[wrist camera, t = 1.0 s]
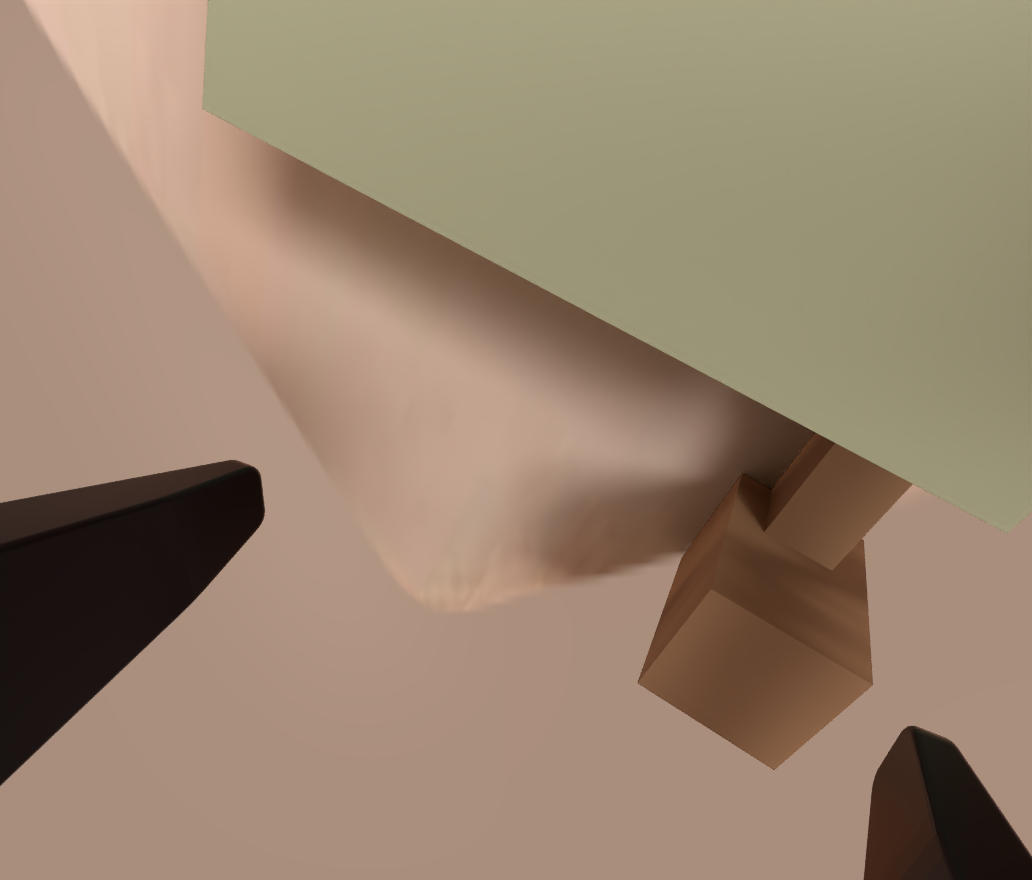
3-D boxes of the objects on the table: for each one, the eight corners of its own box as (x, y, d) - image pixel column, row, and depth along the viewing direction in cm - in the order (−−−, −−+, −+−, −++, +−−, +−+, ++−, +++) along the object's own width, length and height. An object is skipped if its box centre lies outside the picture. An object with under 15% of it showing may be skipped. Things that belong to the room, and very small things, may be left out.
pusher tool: (1139, 245, 14) (1304, 313, 9) (788, 620, 21) (774, 770, 16) (960, 168, 15) (1022, 193, 10) (681, 558, 22) (637, 682, 17)
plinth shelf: (1221, 78, 12) (1552, 41, 7) (948, 390, 16) (1007, 533, 11) (451, -209, 16) (227, -399, 10) (385, 112, 20) (202, 109, 14)
